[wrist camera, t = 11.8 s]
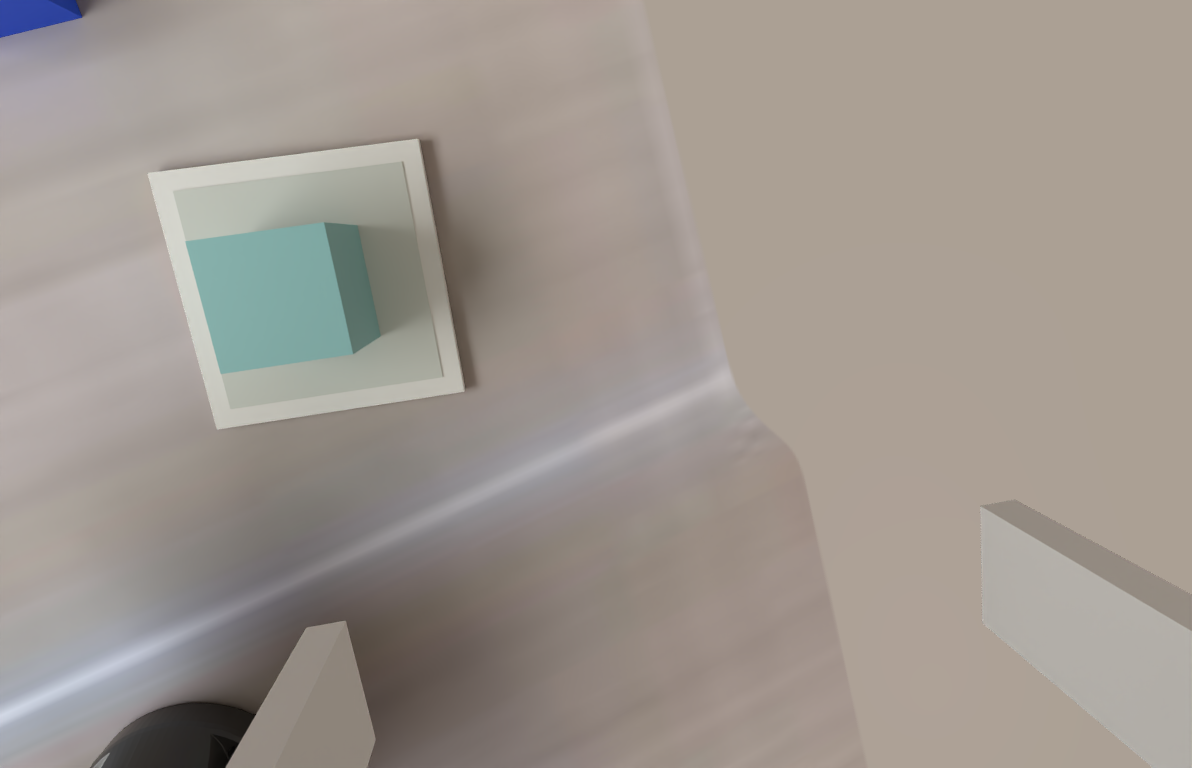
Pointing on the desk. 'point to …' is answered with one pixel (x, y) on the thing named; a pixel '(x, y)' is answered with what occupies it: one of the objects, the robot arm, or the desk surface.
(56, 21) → the bracket
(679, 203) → the desk surface
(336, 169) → the white square tray
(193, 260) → the cube
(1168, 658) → the robot arm
